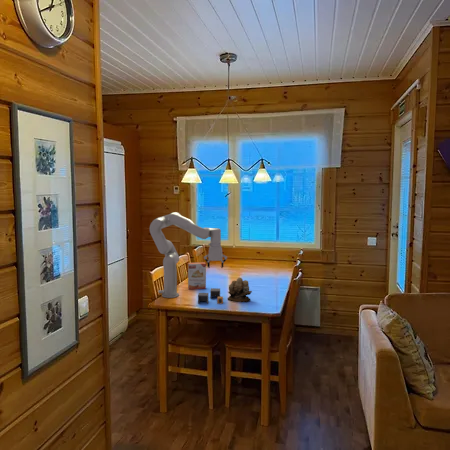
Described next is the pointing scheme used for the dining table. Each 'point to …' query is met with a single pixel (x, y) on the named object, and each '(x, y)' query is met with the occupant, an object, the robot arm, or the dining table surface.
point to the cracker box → (197, 275)
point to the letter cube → (219, 300)
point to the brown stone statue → (239, 291)
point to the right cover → (214, 292)
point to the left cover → (203, 297)
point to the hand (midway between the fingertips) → (215, 267)
